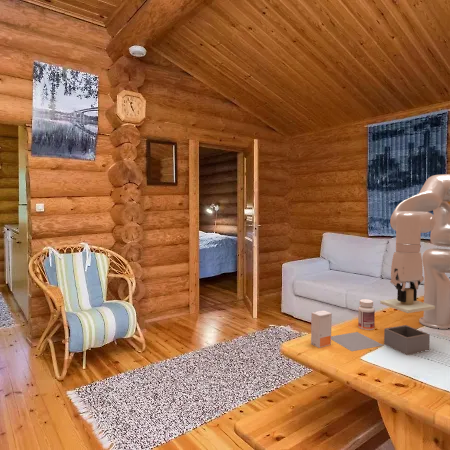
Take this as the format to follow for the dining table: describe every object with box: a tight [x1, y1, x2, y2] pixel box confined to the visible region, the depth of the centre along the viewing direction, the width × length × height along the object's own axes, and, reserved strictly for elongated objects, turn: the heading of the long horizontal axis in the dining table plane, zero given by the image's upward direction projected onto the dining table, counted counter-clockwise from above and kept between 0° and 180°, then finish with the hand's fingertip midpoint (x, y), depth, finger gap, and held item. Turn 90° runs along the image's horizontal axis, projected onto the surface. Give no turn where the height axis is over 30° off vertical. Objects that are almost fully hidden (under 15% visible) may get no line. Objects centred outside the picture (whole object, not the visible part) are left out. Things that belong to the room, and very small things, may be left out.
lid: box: [379, 287, 435, 314], centre depth 125 cm, size 12×12×6 cm
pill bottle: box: [357, 298, 376, 331], centre depth 146 cm, size 6×6×11 cm
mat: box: [331, 331, 385, 352], centre depth 132 cm, size 14×14×1 cm
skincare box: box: [310, 310, 333, 349], centre depth 129 cm, size 6×4×12 cm
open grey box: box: [383, 324, 431, 356], centre depth 126 cm, size 10×10×6 cm
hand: (406, 300), depth 125 cm, fingers closed on lid, 4 cm apart
